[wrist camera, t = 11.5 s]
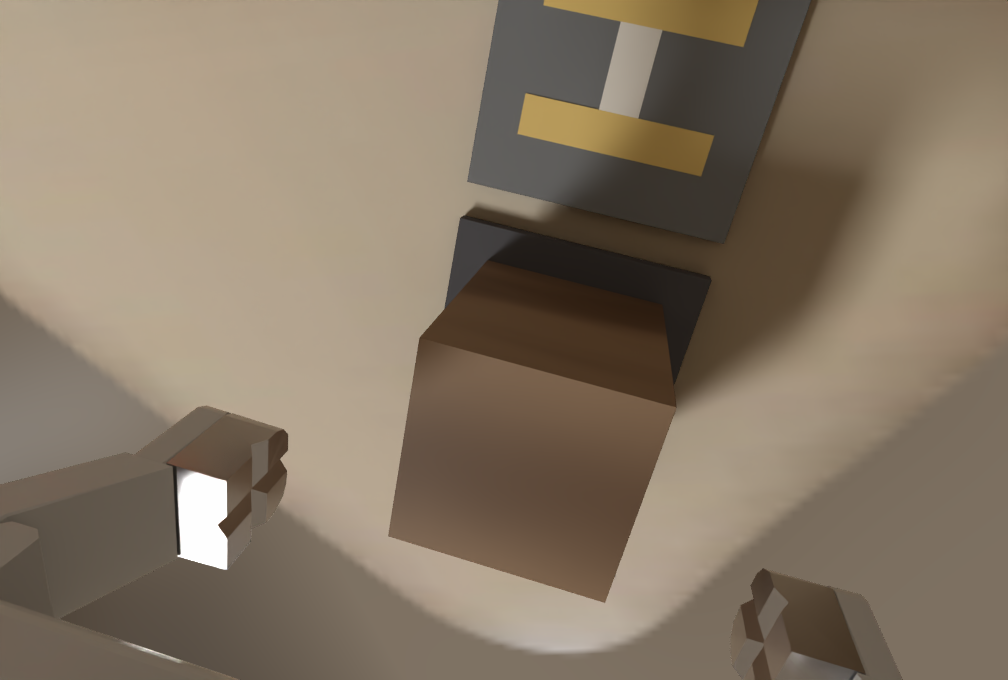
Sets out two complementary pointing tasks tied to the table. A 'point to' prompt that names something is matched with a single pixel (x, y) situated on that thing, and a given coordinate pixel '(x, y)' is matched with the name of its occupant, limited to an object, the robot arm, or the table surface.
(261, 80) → the table surface
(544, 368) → the walnut block
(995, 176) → the table surface
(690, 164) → the code tile
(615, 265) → the rubber mat
